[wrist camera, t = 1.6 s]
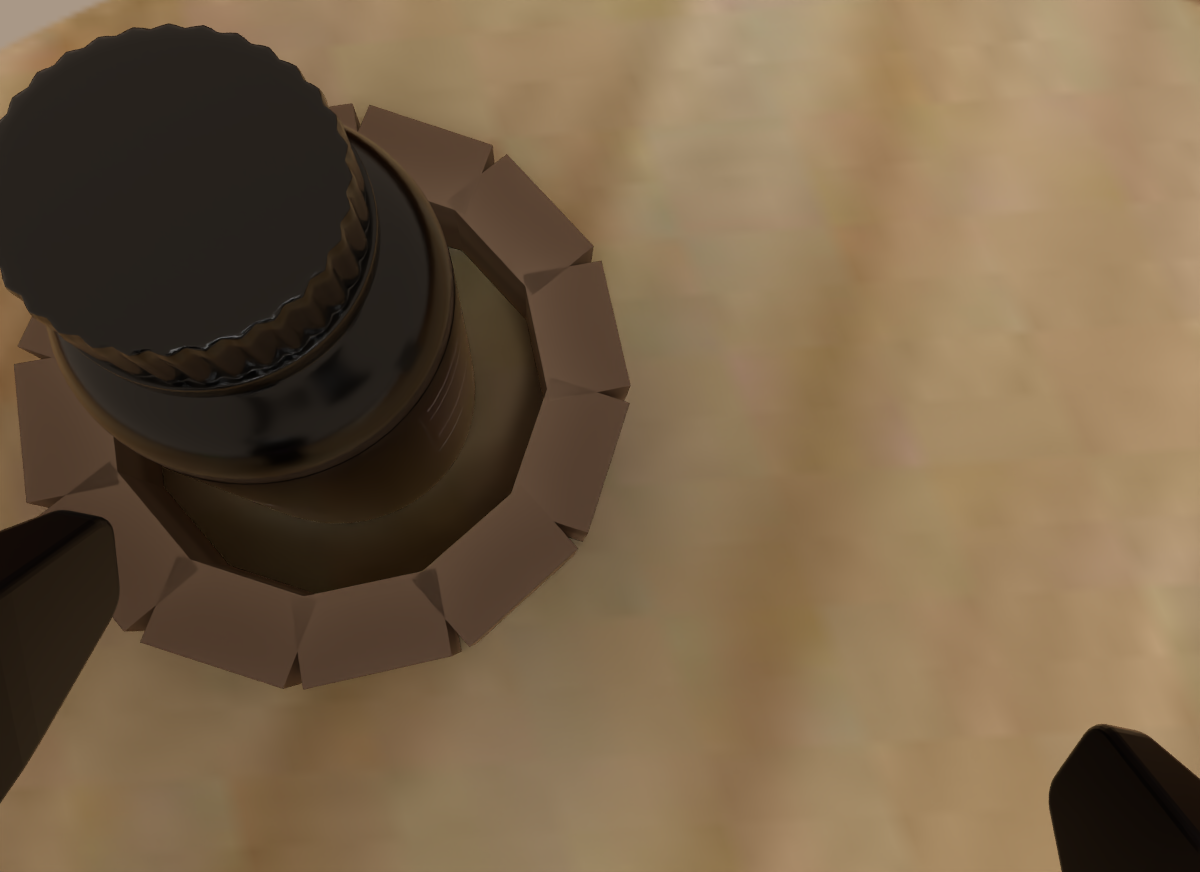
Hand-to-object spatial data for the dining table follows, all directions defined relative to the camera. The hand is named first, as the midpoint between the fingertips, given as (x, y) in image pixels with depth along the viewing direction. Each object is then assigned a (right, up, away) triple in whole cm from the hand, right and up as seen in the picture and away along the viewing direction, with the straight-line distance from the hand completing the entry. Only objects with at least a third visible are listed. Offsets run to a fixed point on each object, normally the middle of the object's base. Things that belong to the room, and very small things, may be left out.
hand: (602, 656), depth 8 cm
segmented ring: (-7, +3, +15) cm, 17 cm away
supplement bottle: (-7, +3, +15) cm, 17 cm away
